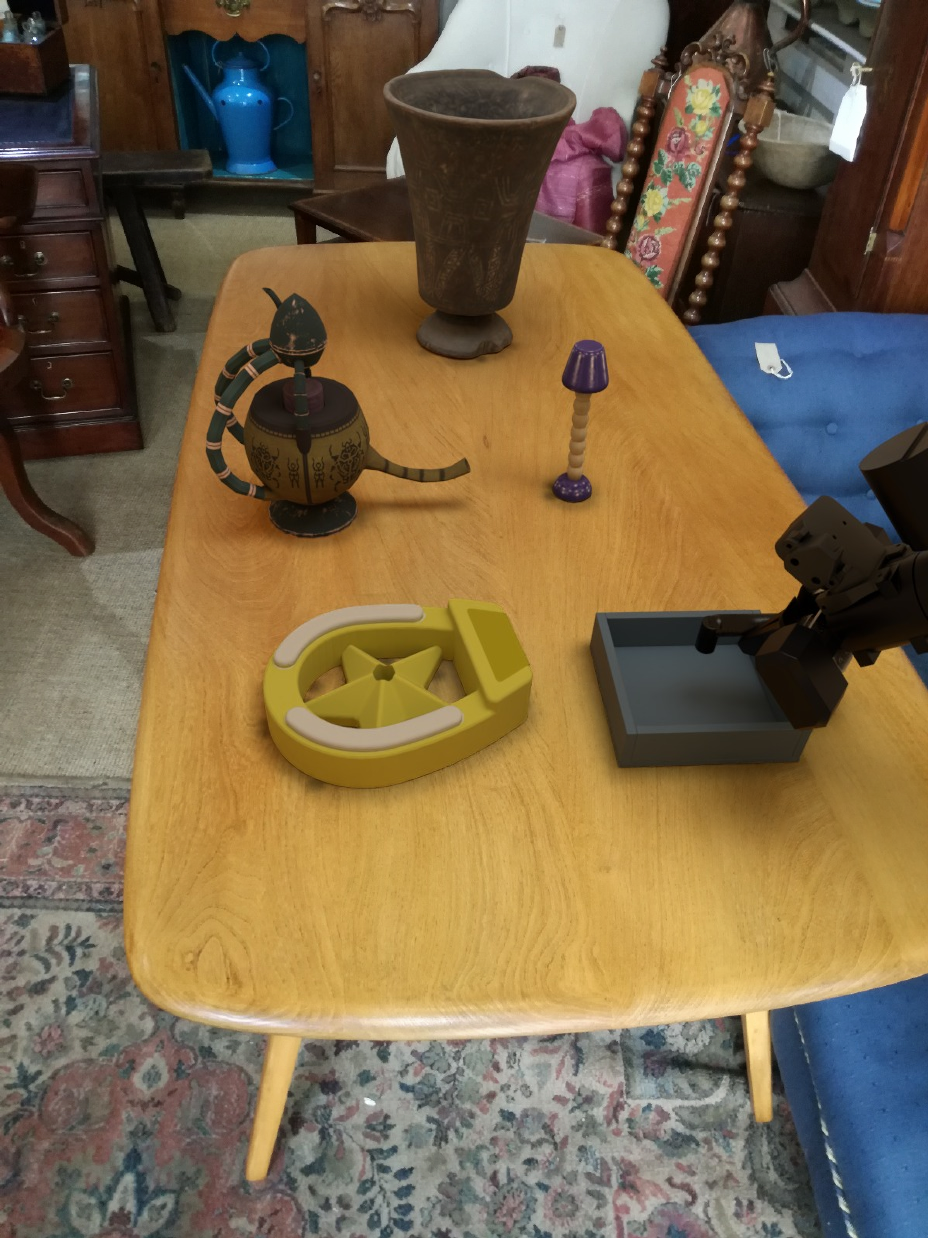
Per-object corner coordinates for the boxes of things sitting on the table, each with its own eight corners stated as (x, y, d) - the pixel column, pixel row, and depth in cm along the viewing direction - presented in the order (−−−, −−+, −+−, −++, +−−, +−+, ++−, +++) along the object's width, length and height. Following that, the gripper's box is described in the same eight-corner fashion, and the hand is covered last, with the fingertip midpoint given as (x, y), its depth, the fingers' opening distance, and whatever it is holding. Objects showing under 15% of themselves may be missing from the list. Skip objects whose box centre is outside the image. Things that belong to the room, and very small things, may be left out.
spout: (836, 632, 76) (849, 603, 74) (848, 657, 74) (862, 627, 72) (690, 635, 75) (699, 605, 73) (699, 660, 73) (708, 630, 71)
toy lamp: (541, 493, 100) (558, 348, 89) (558, 472, 103) (577, 329, 92) (582, 506, 98) (605, 361, 87) (598, 485, 102) (622, 342, 90)
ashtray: (545, 753, 74) (552, 711, 70) (282, 807, 69) (276, 765, 66) (484, 616, 85) (487, 574, 82) (255, 654, 81) (248, 612, 77)
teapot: (229, 480, 99) (195, 264, 84) (462, 473, 102) (472, 263, 86) (220, 551, 91) (180, 325, 75) (475, 542, 93) (488, 321, 77)
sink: (748, 642, 84) (760, 609, 81) (798, 762, 74) (813, 728, 72) (589, 646, 83) (595, 612, 80) (618, 767, 73) (627, 734, 70)
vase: (352, 336, 125) (342, 84, 104) (461, 290, 137) (471, 56, 116) (475, 396, 114) (490, 130, 94) (580, 341, 126) (614, 94, 106)
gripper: (918, 428, 65) (736, 504, 77) (825, 561, 53) (629, 626, 66) (993, 560, 67) (804, 614, 79) (918, 715, 55) (710, 751, 67)
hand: (741, 645), depth 73 cm, fingers closed
